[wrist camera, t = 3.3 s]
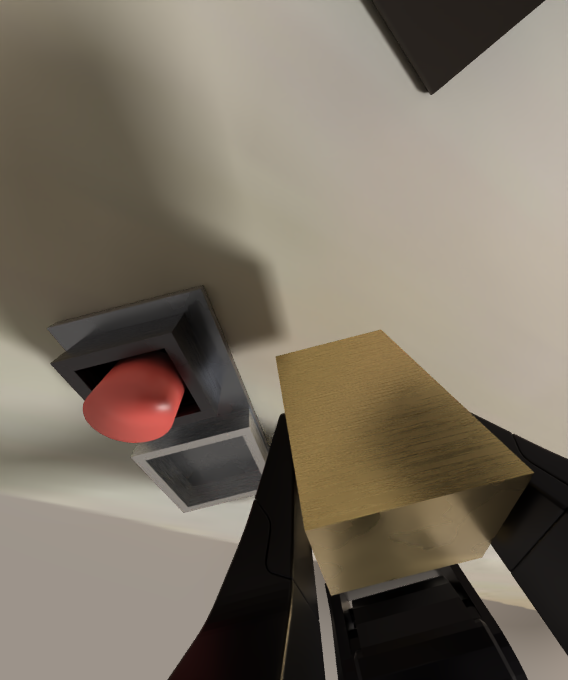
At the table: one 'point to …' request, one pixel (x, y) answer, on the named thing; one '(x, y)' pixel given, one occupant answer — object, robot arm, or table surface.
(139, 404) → the red rounded part
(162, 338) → the ball holder tray
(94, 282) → the table surface
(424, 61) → the phone stand
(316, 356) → the billet
